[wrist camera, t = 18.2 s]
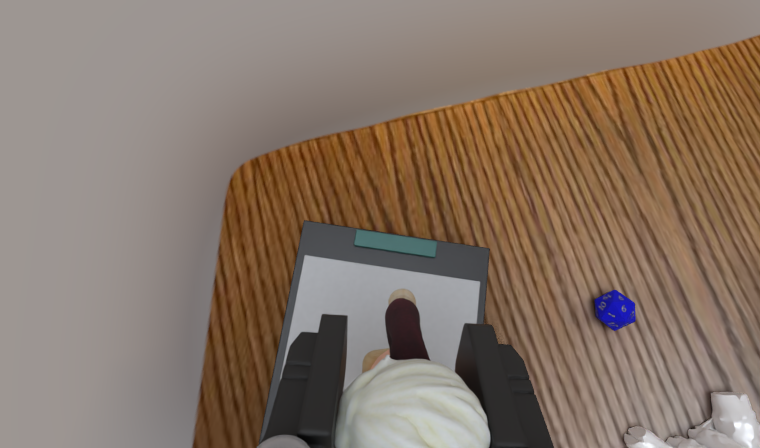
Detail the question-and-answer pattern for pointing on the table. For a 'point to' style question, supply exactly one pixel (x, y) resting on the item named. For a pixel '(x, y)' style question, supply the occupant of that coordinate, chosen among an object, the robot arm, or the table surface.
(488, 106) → the table surface
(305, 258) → the scale
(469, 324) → the robot arm
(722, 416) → the seated beast figurine
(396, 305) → the grandmother figurine
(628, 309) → the die
